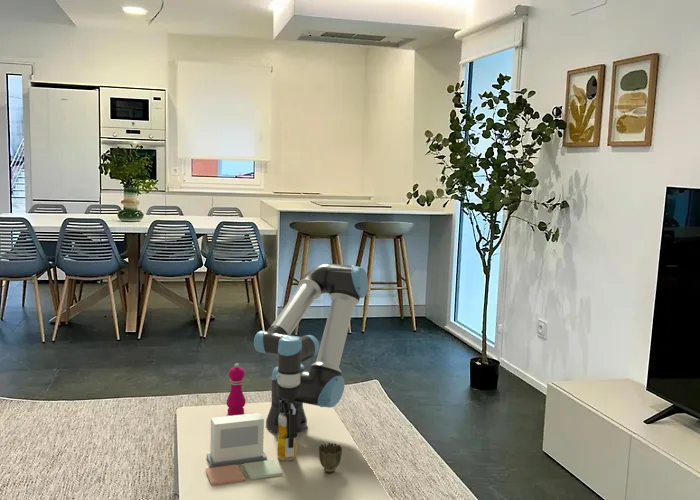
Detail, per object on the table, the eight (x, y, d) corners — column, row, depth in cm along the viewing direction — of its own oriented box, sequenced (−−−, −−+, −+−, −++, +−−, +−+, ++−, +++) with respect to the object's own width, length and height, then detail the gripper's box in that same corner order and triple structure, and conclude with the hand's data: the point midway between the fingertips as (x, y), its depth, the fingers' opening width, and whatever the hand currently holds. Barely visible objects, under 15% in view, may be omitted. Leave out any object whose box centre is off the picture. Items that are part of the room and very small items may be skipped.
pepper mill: (241, 417, 251) (242, 366, 249) (223, 415, 252) (224, 365, 250) (247, 411, 258) (249, 361, 256) (230, 409, 259) (231, 359, 257)
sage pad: (273, 461, 214) (273, 459, 214) (282, 475, 205) (282, 472, 205) (243, 465, 210) (243, 463, 210) (250, 479, 201) (250, 477, 201)
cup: (318, 465, 212) (319, 441, 212) (341, 466, 212) (342, 443, 211) (317, 476, 205) (317, 451, 204) (340, 477, 205) (341, 452, 204)
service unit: (260, 451, 221) (261, 411, 220) (266, 461, 214) (267, 419, 212) (206, 458, 214) (207, 417, 213) (211, 468, 207) (212, 426, 206)
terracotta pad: (237, 466, 209) (237, 464, 209) (244, 480, 200) (244, 478, 200) (205, 470, 205) (205, 468, 205) (211, 485, 196) (211, 482, 196)
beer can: (274, 454, 219) (276, 411, 218) (292, 452, 222) (293, 409, 220) (280, 462, 214) (281, 417, 212) (298, 459, 216) (299, 415, 214)
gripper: (269, 376, 222) (267, 442, 225) (286, 394, 205) (284, 465, 207) (291, 374, 225) (288, 439, 228) (309, 392, 208) (306, 462, 210)
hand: (286, 451), depth 217 cm, fingers closed on beer can, 6 cm apart
